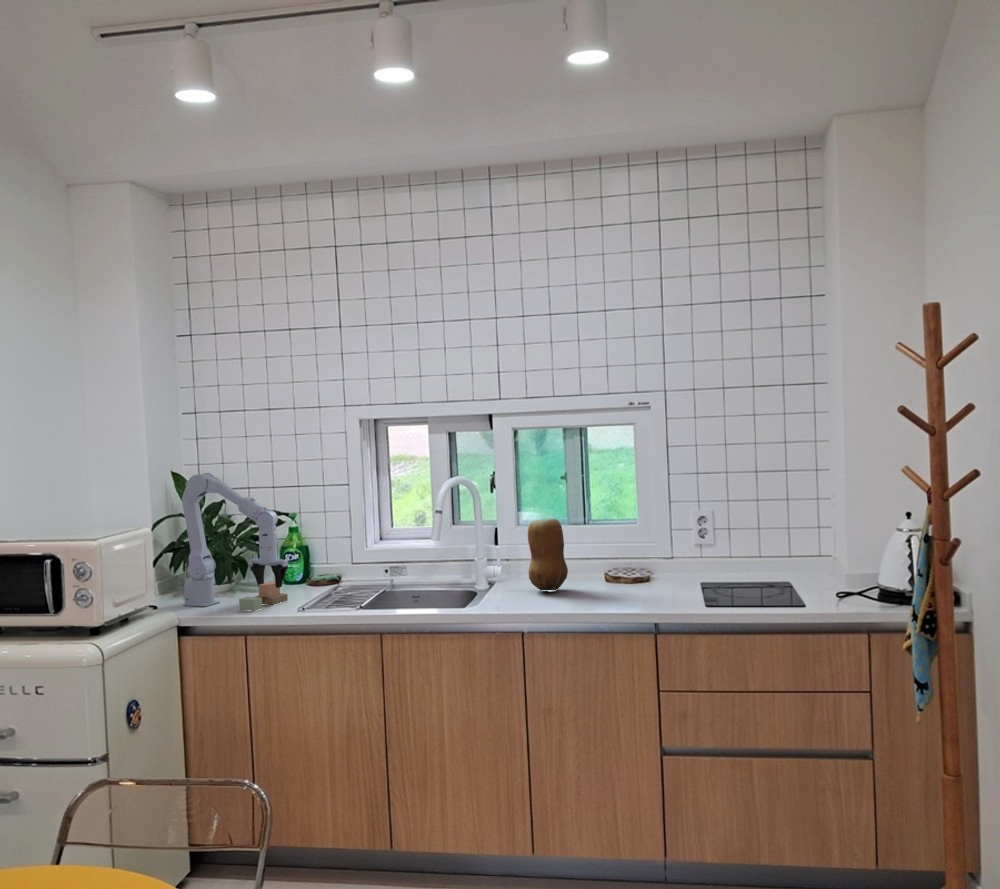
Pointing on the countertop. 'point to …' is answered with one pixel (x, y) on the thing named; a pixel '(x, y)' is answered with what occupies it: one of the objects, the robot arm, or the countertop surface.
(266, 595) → the terracotta brick
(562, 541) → the butternut squash
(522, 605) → the countertop surface
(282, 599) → the walnut slab
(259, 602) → the sage brick
